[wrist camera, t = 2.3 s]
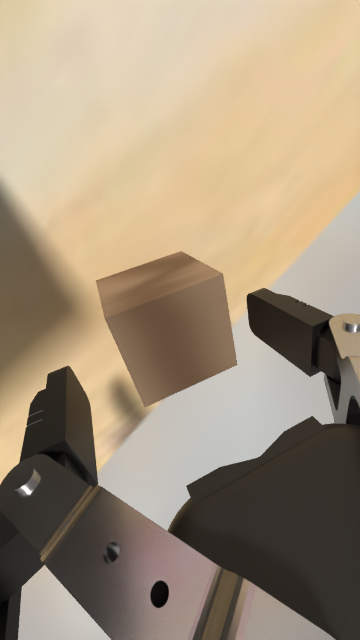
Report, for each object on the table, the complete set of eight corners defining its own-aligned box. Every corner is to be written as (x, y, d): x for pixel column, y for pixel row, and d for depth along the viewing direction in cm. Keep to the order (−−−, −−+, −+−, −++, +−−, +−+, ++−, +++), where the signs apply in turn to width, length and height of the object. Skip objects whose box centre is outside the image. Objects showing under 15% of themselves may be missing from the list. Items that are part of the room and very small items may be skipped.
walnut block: (180, 251, 15) (222, 273, 10) (197, 323, 17) (237, 364, 13) (95, 280, 14) (104, 318, 10) (126, 352, 16) (144, 407, 12)
